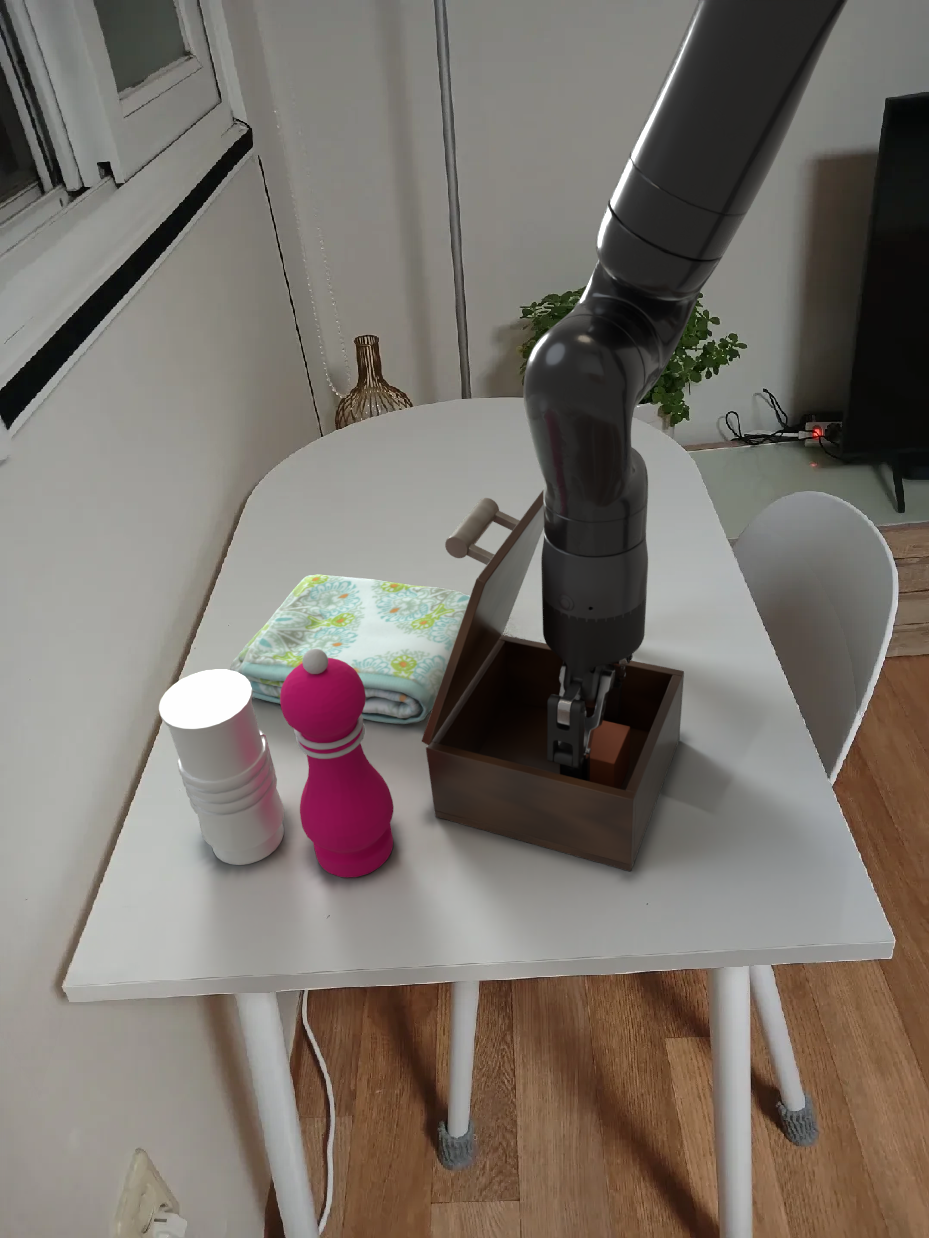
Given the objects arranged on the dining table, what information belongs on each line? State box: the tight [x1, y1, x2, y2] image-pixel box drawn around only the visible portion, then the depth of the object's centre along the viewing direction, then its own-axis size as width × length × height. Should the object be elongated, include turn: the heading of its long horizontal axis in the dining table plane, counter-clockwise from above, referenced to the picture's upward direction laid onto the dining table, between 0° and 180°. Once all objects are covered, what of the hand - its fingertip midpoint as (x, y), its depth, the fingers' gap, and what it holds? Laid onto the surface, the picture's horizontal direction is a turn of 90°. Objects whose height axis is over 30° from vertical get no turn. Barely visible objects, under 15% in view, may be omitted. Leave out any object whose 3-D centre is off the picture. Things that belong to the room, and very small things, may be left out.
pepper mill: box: [280, 649, 394, 878], centre depth 71 cm, size 7×7×20 cm
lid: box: [421, 488, 544, 746], centre depth 74 cm, size 17×16×5 cm
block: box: [584, 721, 630, 789], centre depth 78 cm, size 5×5×5 cm
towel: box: [229, 573, 471, 725], centre depth 95 cm, size 18×21×5 cm
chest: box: [425, 634, 685, 872], centre depth 79 cm, size 17×16×8 cm
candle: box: [158, 668, 285, 866], centre depth 74 cm, size 7×7×15 cm
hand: (591, 748), depth 78 cm, fingers open, 8 cm apart
